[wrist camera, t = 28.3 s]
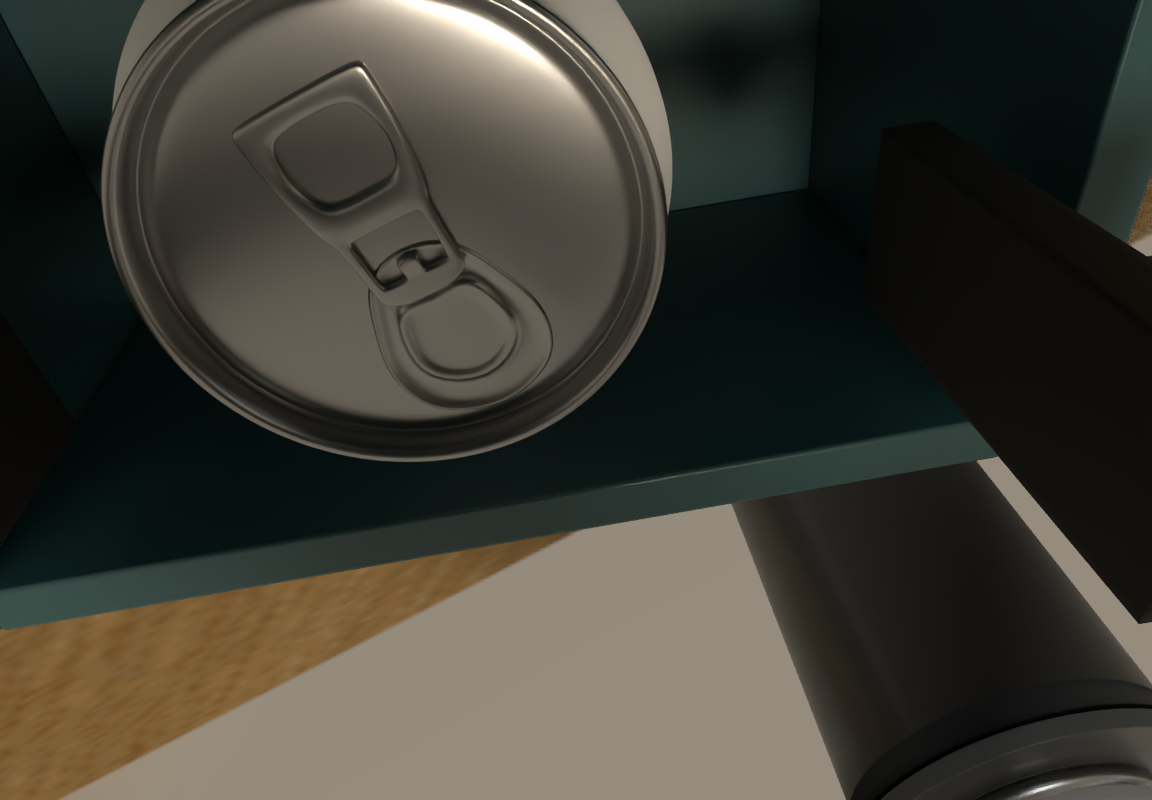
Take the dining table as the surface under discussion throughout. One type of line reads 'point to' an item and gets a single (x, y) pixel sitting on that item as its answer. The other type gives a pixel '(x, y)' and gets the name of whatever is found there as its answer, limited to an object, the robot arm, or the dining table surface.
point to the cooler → (657, 360)
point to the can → (390, 211)
